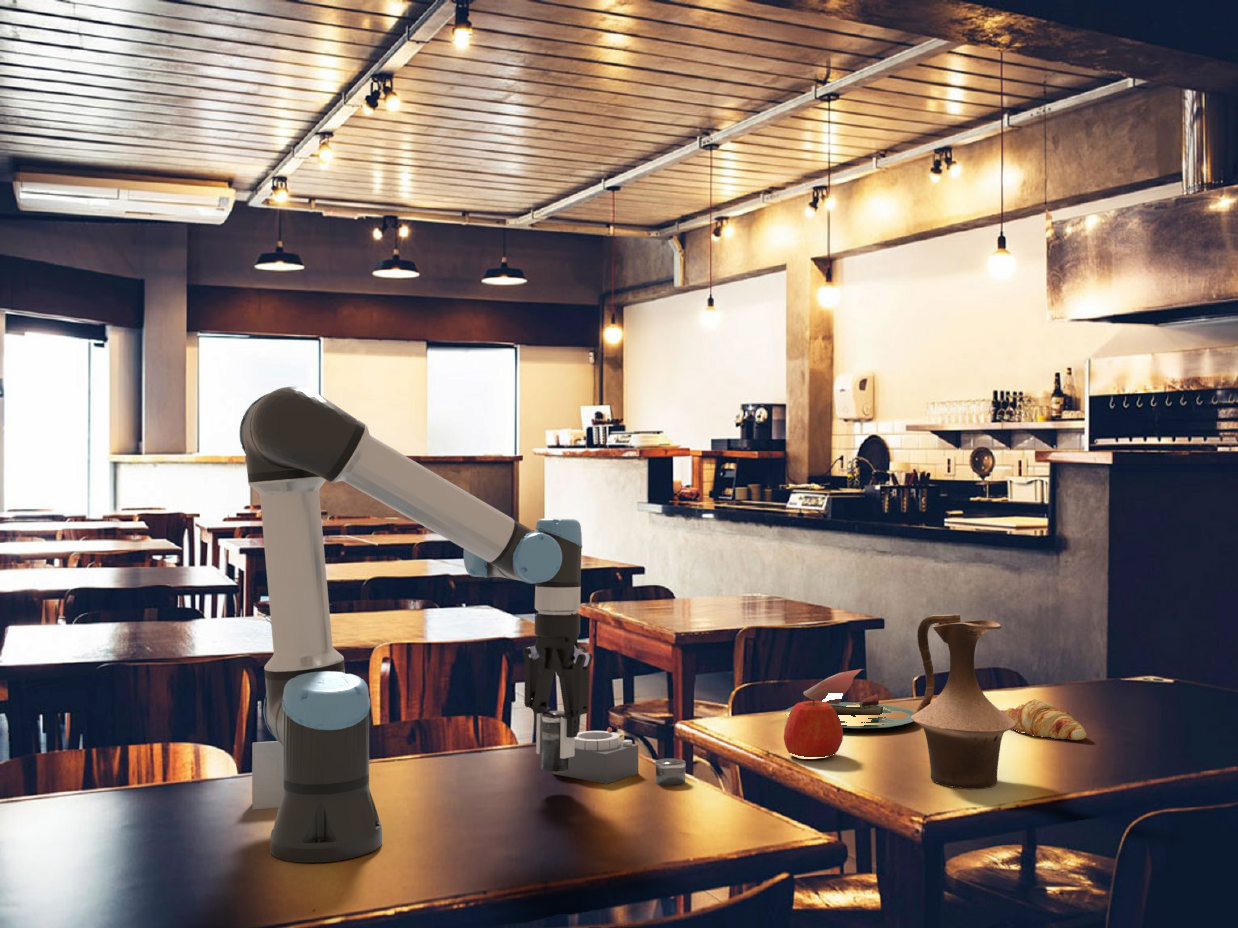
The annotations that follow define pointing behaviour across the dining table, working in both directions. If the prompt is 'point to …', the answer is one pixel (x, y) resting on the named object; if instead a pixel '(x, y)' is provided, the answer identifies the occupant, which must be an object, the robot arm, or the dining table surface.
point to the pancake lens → (670, 772)
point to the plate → (834, 692)
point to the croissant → (1045, 721)
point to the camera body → (602, 757)
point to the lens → (552, 742)
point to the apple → (813, 730)
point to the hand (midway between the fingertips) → (555, 754)
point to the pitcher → (960, 709)
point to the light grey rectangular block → (267, 774)
